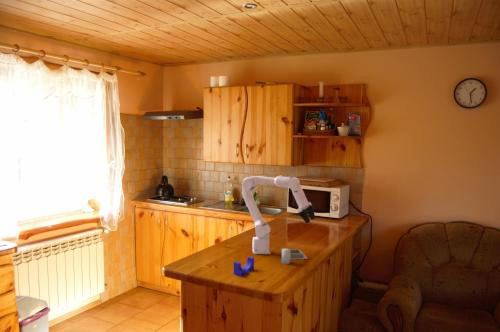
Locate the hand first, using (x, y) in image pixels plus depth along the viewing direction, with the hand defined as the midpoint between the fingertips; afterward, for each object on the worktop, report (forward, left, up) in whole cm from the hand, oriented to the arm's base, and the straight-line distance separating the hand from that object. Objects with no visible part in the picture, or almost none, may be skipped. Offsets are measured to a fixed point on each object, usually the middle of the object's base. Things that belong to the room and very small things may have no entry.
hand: (310, 221), depth 213 cm
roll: (-15, -6, -21) cm, 26 cm away
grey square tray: (-7, +4, -21) cm, 23 cm away
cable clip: (-38, -19, -21) cm, 48 cm away
